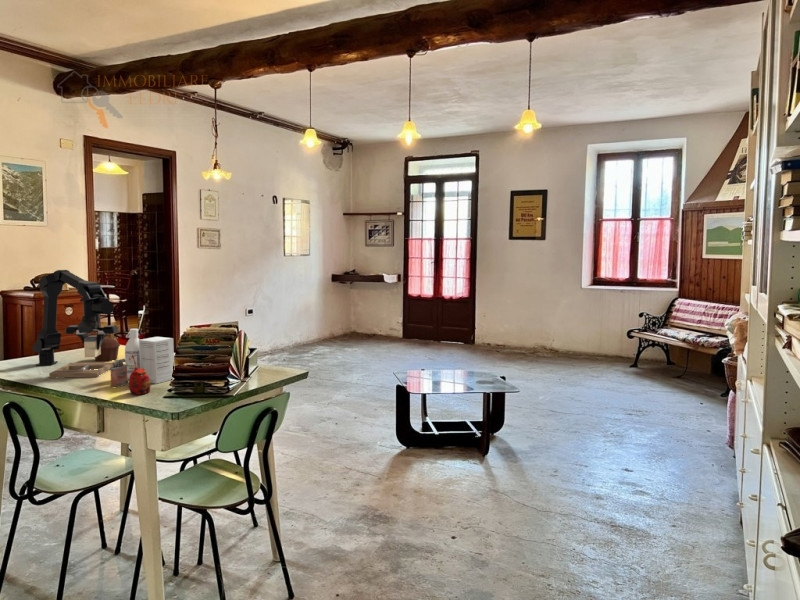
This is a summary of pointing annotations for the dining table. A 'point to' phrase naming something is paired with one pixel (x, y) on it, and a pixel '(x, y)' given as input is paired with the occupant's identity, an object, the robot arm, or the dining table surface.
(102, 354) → the muffin
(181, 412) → the dining table surface
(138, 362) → the bath foam
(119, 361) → the lighter
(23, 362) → the dining table surface
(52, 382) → the dining table surface
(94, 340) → the block
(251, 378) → the dining table surface
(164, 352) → the supplement box
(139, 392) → the red clay folk toy
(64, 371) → the wooden frame
